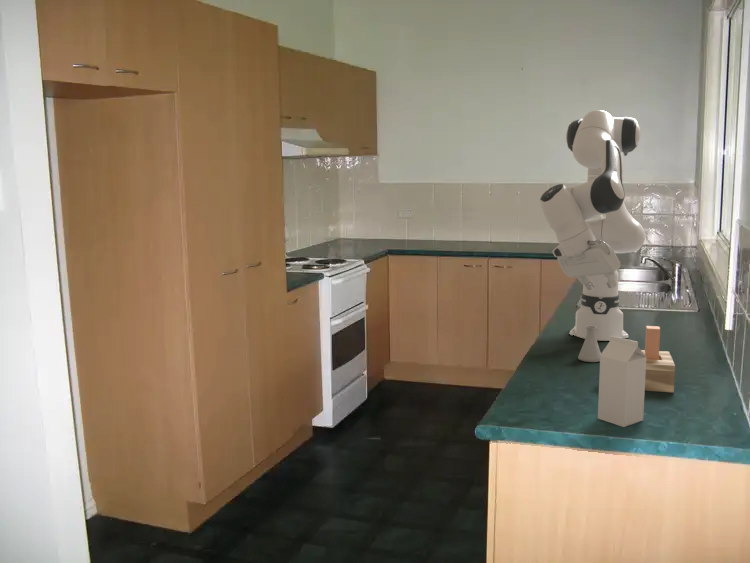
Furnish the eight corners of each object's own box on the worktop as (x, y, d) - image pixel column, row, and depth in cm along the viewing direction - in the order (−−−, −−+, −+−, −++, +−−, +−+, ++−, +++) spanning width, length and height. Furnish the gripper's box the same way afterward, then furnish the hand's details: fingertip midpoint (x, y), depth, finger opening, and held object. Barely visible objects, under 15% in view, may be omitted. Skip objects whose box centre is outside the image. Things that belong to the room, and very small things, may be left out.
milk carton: (624, 428, 162) (628, 344, 159) (597, 419, 168) (600, 338, 165) (643, 421, 166) (647, 339, 163) (616, 412, 172) (620, 333, 169)
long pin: (643, 380, 196) (646, 325, 194) (656, 381, 195) (659, 326, 193) (644, 384, 193) (647, 328, 191) (657, 385, 192) (660, 329, 190)
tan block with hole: (628, 374, 202) (629, 349, 201) (667, 376, 199) (668, 351, 198) (631, 389, 189) (633, 363, 188) (673, 392, 186) (675, 365, 185)
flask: (598, 356, 221) (599, 323, 219) (606, 362, 214) (607, 329, 212) (574, 356, 221) (575, 324, 219) (581, 363, 213) (583, 329, 212)
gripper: (611, 232, 187) (636, 279, 189) (564, 241, 206) (587, 284, 208) (594, 244, 185) (618, 291, 187) (548, 252, 204) (571, 295, 206)
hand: (601, 288), depth 197 cm, fingers open, 8 cm apart
